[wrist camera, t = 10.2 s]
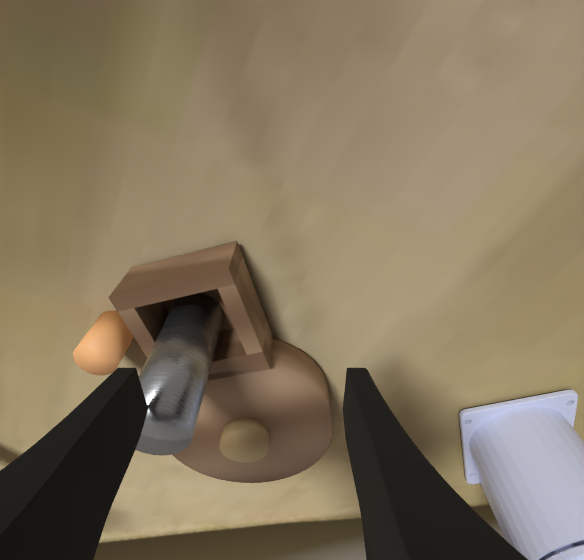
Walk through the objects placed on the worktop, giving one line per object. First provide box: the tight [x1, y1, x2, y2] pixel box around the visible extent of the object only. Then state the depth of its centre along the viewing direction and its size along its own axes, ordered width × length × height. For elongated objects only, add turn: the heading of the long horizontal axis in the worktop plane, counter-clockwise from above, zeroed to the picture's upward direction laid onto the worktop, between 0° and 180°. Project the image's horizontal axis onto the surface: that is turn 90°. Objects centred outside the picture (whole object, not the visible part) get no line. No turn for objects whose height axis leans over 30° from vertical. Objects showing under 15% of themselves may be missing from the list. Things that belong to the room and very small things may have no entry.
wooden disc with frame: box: [109, 241, 333, 483], centre depth 23 cm, size 17×11×4 cm, turn 15°
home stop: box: [73, 311, 134, 375], centre depth 22 cm, size 2×2×3 cm
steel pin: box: [135, 293, 224, 455], centre depth 18 cm, size 3×3×8 cm
